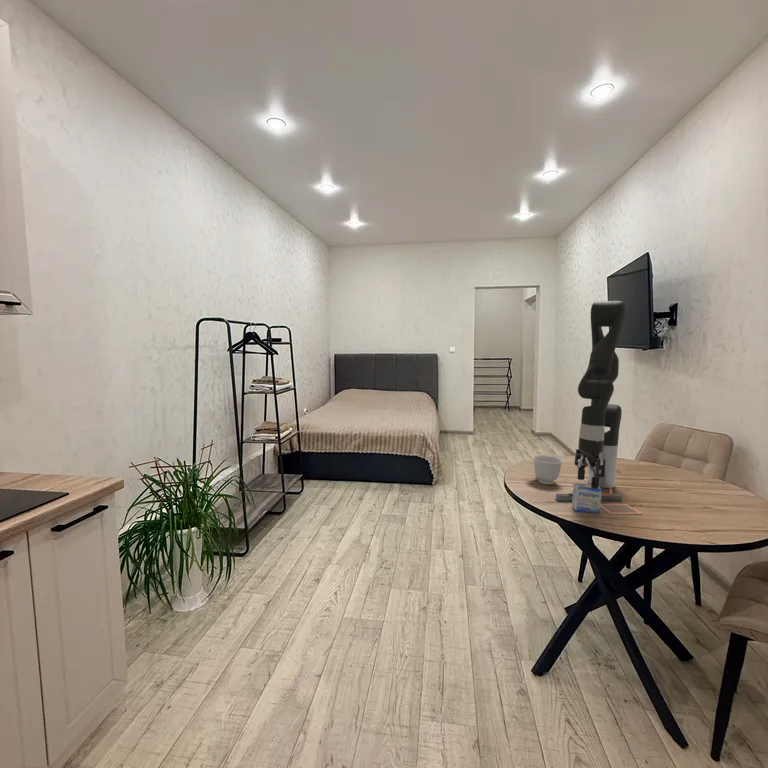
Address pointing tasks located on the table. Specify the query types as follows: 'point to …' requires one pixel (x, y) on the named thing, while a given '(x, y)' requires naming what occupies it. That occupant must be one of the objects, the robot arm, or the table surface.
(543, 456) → the teacup
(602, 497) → the rail
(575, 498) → the medicine box
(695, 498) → the table surface
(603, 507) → the pad
